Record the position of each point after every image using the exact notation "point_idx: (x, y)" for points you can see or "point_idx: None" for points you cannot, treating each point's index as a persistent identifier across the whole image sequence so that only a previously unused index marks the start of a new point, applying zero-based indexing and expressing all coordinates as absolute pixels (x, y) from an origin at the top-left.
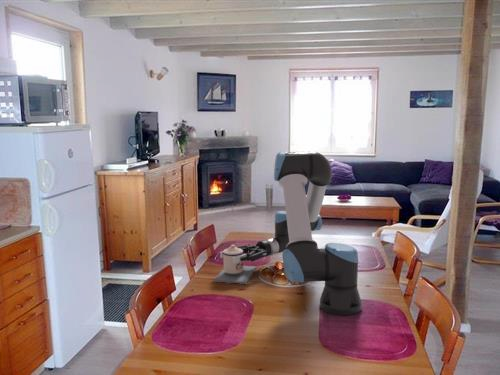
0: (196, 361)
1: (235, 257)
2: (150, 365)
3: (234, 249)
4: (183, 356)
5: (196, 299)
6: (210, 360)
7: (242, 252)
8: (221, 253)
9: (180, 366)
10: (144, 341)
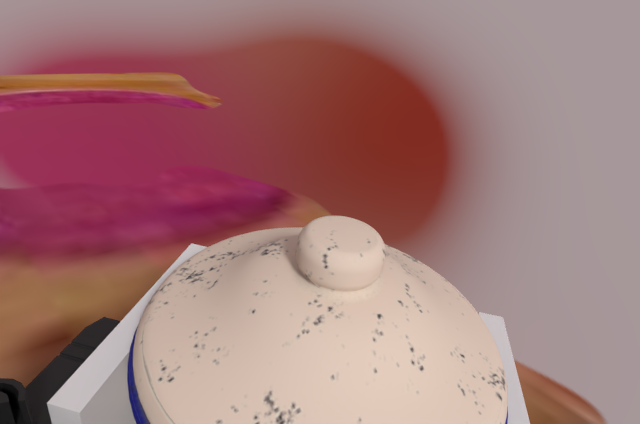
0: (52, 81)
1: (179, 258)
2: (136, 76)
3: (261, 248)
4: (88, 85)
5: (239, 198)
6: (20, 83)
7: (142, 384)
8: None
9: (78, 76)
10: (201, 96)
